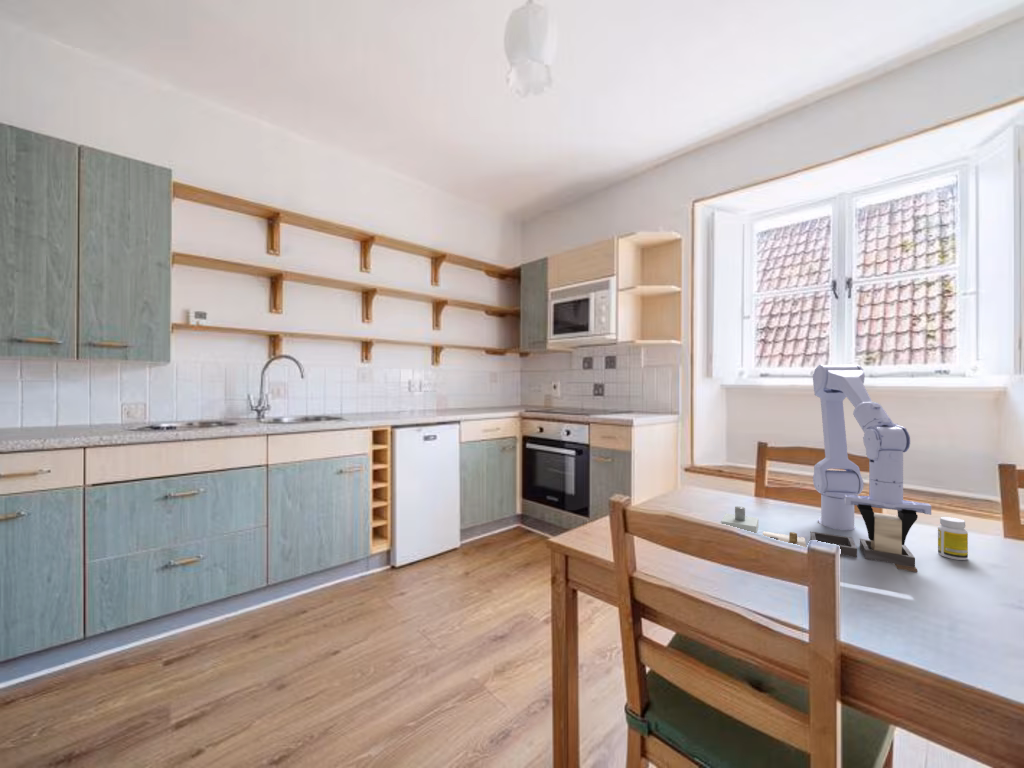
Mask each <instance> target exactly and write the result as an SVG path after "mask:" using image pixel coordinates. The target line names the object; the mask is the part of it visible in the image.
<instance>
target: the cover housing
mask: <svg viewBox="0 0 1024 768" xmlns="http://www.w3.org/2000/svg"><path fill="white" fill-rule="evenodd" d="M720 523H722V524H726V525H730V526H733V527H737V528H740V529H744V530H747V531H751V532H754V533H757V534H758V530H759V517H752V516H748V515H747V516H746V507H745V506H738V505H737V506H734V514H731V513H725V514H724V515H723V517H722V519H721V521H720Z"/></svg>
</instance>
